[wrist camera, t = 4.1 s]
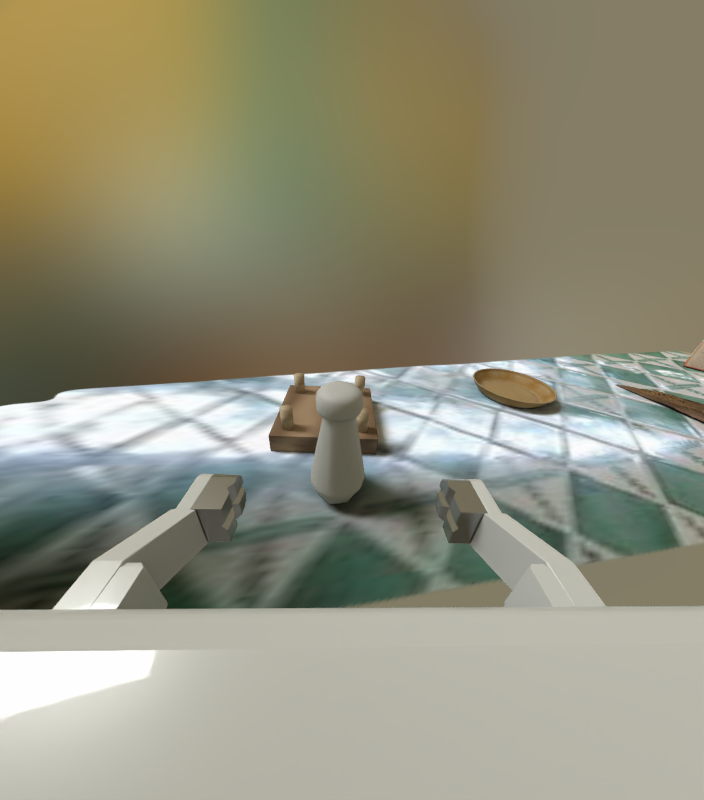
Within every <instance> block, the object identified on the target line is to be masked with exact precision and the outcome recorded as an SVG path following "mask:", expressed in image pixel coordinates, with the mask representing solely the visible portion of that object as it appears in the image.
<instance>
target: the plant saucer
mask: <svg viewBox="0 0 704 800" xmlns="http://www.w3.org/2000/svg"><path fill="white" fill-rule="evenodd" d="M473 378H474V381H475V383H476V385H477V386H478V388H479V389H480V391H481V392H482V393H483V394H484V395H485V396H487V397H488V398H490V399H492V400H494V401H496V402H498V403H501V404H504V405H507V406H511V407H517V408H535V407H539V406H543V405H546V404H549V403H551V402H553V401H555V400H556V398H557V394H556V392H555V391H554V390H553V389H552V388H551V387H550V386H548V385H547V384H545V383H543V382H542V381H540V380H537V379H535V378H533V377H530V376H527V375H525V374H521V373H518V372H514V371H509V370H503V369H482V370H478V371H476V372H475V373H474V375H473Z"/></svg>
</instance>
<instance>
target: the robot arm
mask: <svg viewBox="0 0 704 800" xmlns="http://www.w3.org/2000/svg"><path fill="white" fill-rule="evenodd" d="M242 484H243V479H242V476H240V475H221V474H201V475H199V476H198V477H197V478H196V480H195V481H194V483H193V484H192V485H191V487H190V488H189V490H188V491H187V493H186V494H185V496H184V497H183V499H182V500H181V502H180V503H179V505H178V506H177V508H176V509H171V510H170V511H168V512H166V513H165V514H163V515H162V516H160V517H159V518H157V519H156V520H154V521H153V522H151V523H150V524H148V525H147V526H145V527H144V528H142V529H141V530H139V531H138V532H136V533H135V534H133V535H131V536H130V537H128V538H127V539H125V540H124V541H122V542H121V543H119V544H118V545H116V546H115V547H113V548H112V549H110V550H109V551H107V552H106V553H104V554H103V555H101V556H99V557H98V558H96V559H95V560H93V561H92V562H91V563H90V565H89V566H88V567H87V568H86V569H85V571H84V572H83V573H82V574H81V575H80V577H79V578H78V579H77V580H76V581H75V583H74V584H73V585H72V586H71V587H70V589H69V590H68V591H67V592H66V593H65V595H64V596H63V597H62V598H61V599H60V601H59V602H58V603H57V604H56V605H55V607H54V608H53V609H52V610H0V800H704V606H617V607H616V606H613V607H612V606H611V607H610V606H609V607H606V606H605V604H604V603H603V602H602V600H601V599H600V598H599V596H598V595H597V594H596V592H595V591H594V590H593V588H592V587H591V586H590V584H589V583H588V582H587V580H586V579H585V578H584V576H583V575H582V574H581V572H580V571H579V570H578V568H577V567H576V566H575V564H574V563H573V562H571V561H570V560H569V559H567V558H566V557H564V556H563V555H562V554H560V553H559V552H558V551H556V550H555V549H554V548H552V547H551V546H549V545H548V544H547V543H545V542H544V541H543V540H541V539H540V538H538V537H537V536H536V535H534V534H533V533H532V532H530V531H529V530H527V529H526V528H525V527H523V526H522V525H521V524H519V523H518V522H516V521H515V520H514V519H512V518H511V517H510V516H508V515H507V514H502V513H501V511H500V509H499V508H498V506H497V505H496V503H495V501H494V500H493V498H492V497H491V495H490V493H489V492H488V490H487V489H486V487H485V485H484V484H483V482H482V481H481V480H479V479H467V480H466V479H443V480H442V481H441V483H440V487H441V491H439V492H438V493H437V496H436V509H437V513H438V515H439V517H440V518H441V519H442V520H443V521H444V524H443V529H444V532H445V535H446V537H447V540H448V543H467V544H470V545H471V547H472V548H473V549H474V550H475V551H476V552H477V553H478V554H479V555H480V556H481V557H482V558H483V559H484V561H485V562H486V563H487V564H488V565H489V566H490V567H491V568H492V569H493V570H494V571H495V572H496V573H497V574H498V576H499V577H500V578H501V579H502V580H503V581H504V582H505V583H506V584H507V585H508V586H509V587H510V588H511V590H512V592H511V593H510V594H509V596H508V597H507V598H506V600H505V602H504V605H505V607H428V608H427V607H426V608H425V607H424V608H421V607H420V608H419V607H417V608H244V609H166V608H167V606H168V605H167V601H166V600H165V598H164V597H163V595H162V593H161V592H160V589H161V588H162V587H163V586H164V585H166V584H167V583H168V582H169V581H170V580H171V579H172V578H173V577H174V576H175V575H176V574H177V573H178V572H179V571H180V570H181V569H182V568H183V567H184V566H185V565H186V564H187V563H188V562H189V561H190V560H191V559H192V558H193V557H194V556H195V555H196V554H197V553H198V552H199V551H200V550H201V549H202V548H203V547H204V546H205V545H206V544H207V542H221V541H231V540H232V538H233V535H234V533H235V530H236V528H237V525H238V524H237V520H236V519H237V518H238V517H239V516H240V515H242V513H243V510H244V507H245V502H246V492H245V489H243V488H242V487H241V486H242Z"/></svg>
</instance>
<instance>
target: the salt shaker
mask: <svg viewBox="0 0 704 800" xmlns="http://www.w3.org/2000/svg"><path fill="white" fill-rule="evenodd" d="M363 405H364V397H363V393H362V391H361V390H360V389H359V388H358V387H357V386H355V385H354V384H351V383H348V382H342V381H335V382H329V383H327V384H324V385H323V386H322V387H320V389H319V390H318V391H317V393H316V410H317V412H318V414H319V415H321V416H322V423H321V427H320V432H319V437H318V441H317V446H316V450H315V455H314V460H313V464H312V469H311V482H312V485H313V486H314V488H315V489H316V491H317V492H318V494H319V495H320V496H321V497H322V498H324V499H325V500H326V501H327V502H328V503H329V504H339V503H347V502H348V501H349V500H350V498H351V497H352V496H353V495H354V494H355V493H356V492H357V491H358V490H359V489H360V488H361V485H362V483H363V480H364V477H365V474H364V467H363V460H362V453H361V446H360V438H359V431H358V424H357V417H358V416H359V414H360V413H361V411H362V409H363Z"/></svg>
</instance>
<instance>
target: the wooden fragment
mask: <svg viewBox="0 0 704 800" xmlns="http://www.w3.org/2000/svg"><path fill="white" fill-rule="evenodd" d="M617 386H620V387H622V388H624V389H627V390H630V391H632V392H634V393H637V394H639V395H641V396H644V397H646V398H649V399H651V400H654V401H657V402H659V403H662V404H665V405H667V406H669V407H672V408H674V409H676V410H678V411H680V412H682V413H685V414H687V415H690V416H691V417H694V418H697V419H698V420H700V421H703V422H704V404H702V403H698V402H694V401H690V400H686V399H682V398H679V397H677V396H674V395H671V394H666V393H663V392H658V391H655V390H654V391H650V390H646V389H638V388H634V387H630V386H623V385H617Z"/></svg>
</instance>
